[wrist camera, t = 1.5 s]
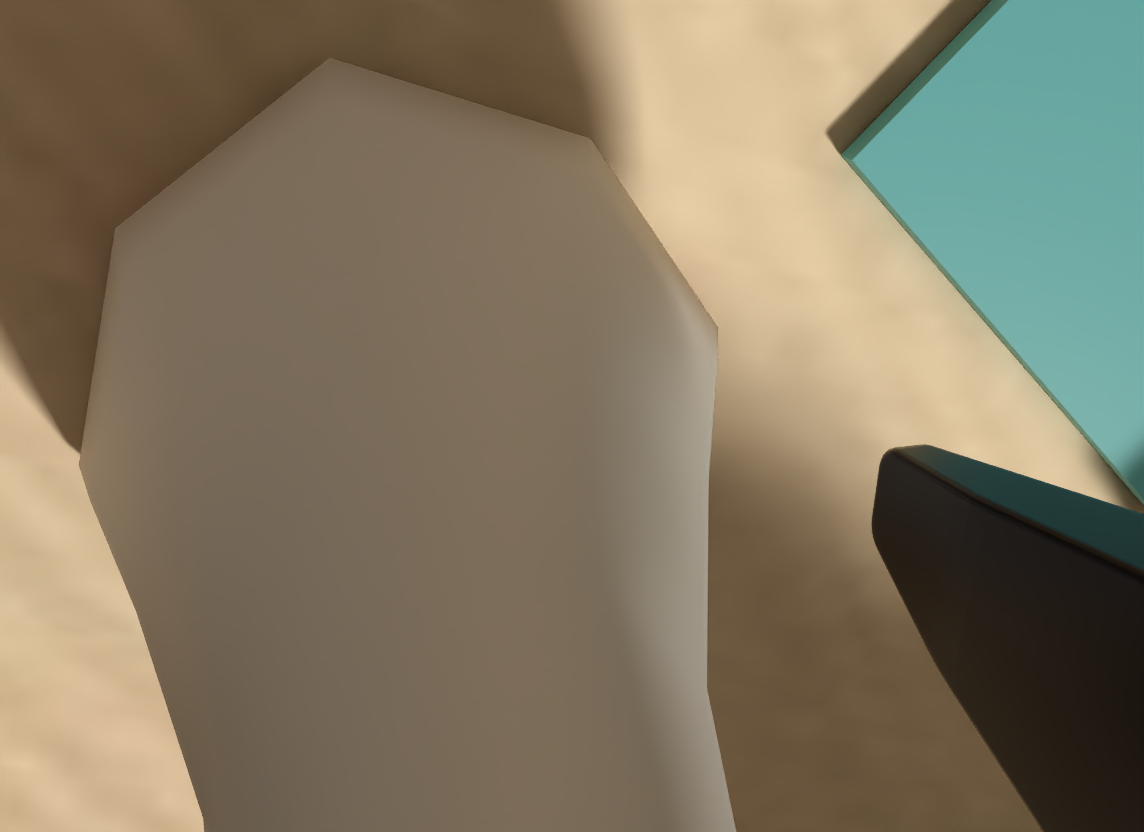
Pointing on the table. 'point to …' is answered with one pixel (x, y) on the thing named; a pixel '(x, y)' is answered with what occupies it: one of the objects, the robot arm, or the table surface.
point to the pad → (1036, 197)
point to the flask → (413, 474)
